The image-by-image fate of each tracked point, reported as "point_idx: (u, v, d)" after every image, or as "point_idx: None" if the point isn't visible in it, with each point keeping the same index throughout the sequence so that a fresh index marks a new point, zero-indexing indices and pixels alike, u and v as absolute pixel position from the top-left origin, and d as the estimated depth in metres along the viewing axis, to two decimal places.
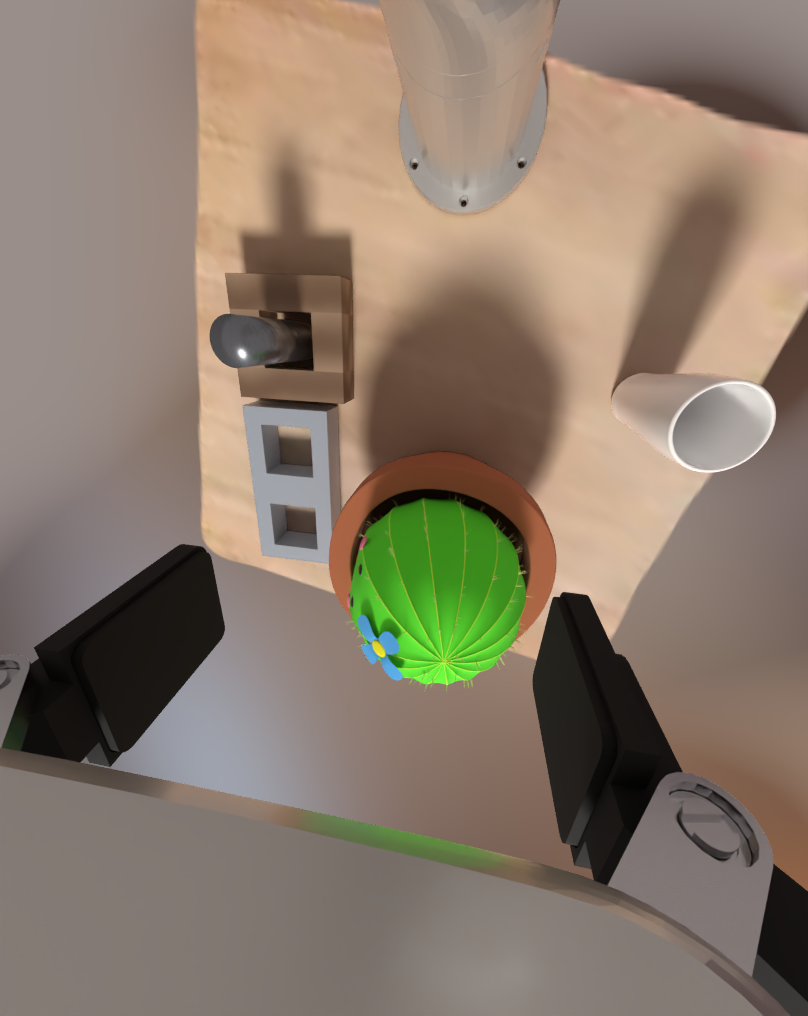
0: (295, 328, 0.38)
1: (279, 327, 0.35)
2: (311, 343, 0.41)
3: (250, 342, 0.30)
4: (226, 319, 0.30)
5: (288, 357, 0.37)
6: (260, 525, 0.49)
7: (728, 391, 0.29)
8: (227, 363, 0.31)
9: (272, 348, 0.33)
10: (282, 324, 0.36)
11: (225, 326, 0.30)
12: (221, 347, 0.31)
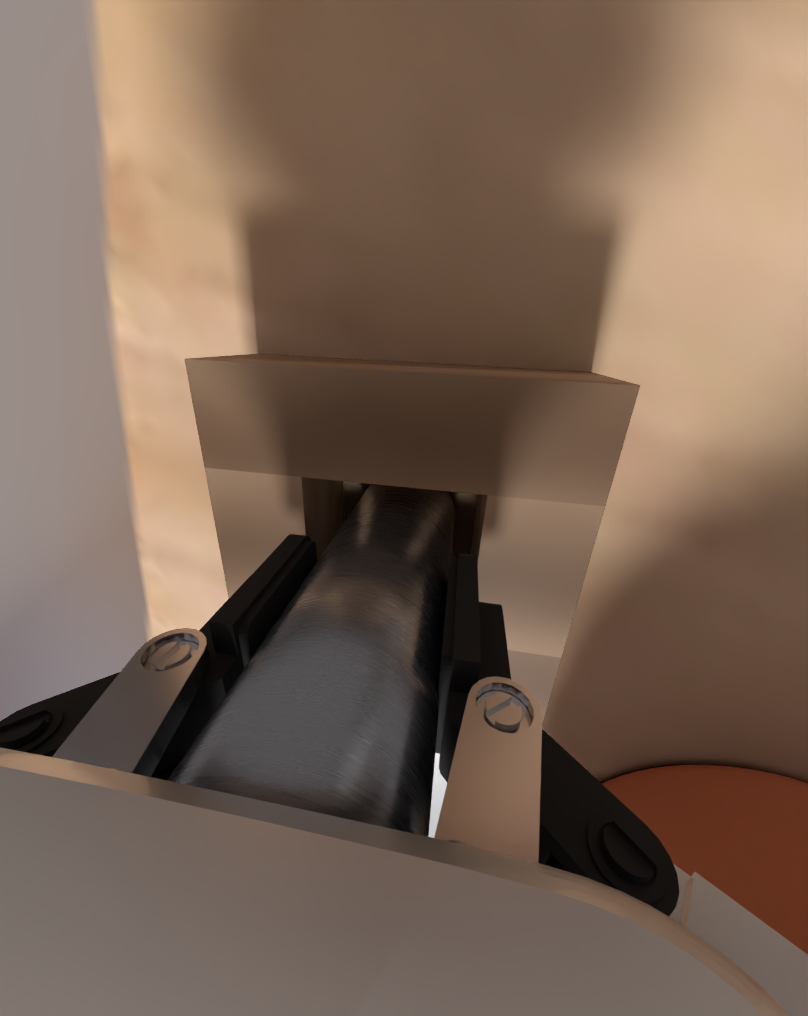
0: (437, 558, 0.11)
1: (423, 652, 0.07)
2: None
3: None
4: None
5: None
6: None
7: None
8: None
9: None
10: (417, 599, 0.08)
11: None
12: None
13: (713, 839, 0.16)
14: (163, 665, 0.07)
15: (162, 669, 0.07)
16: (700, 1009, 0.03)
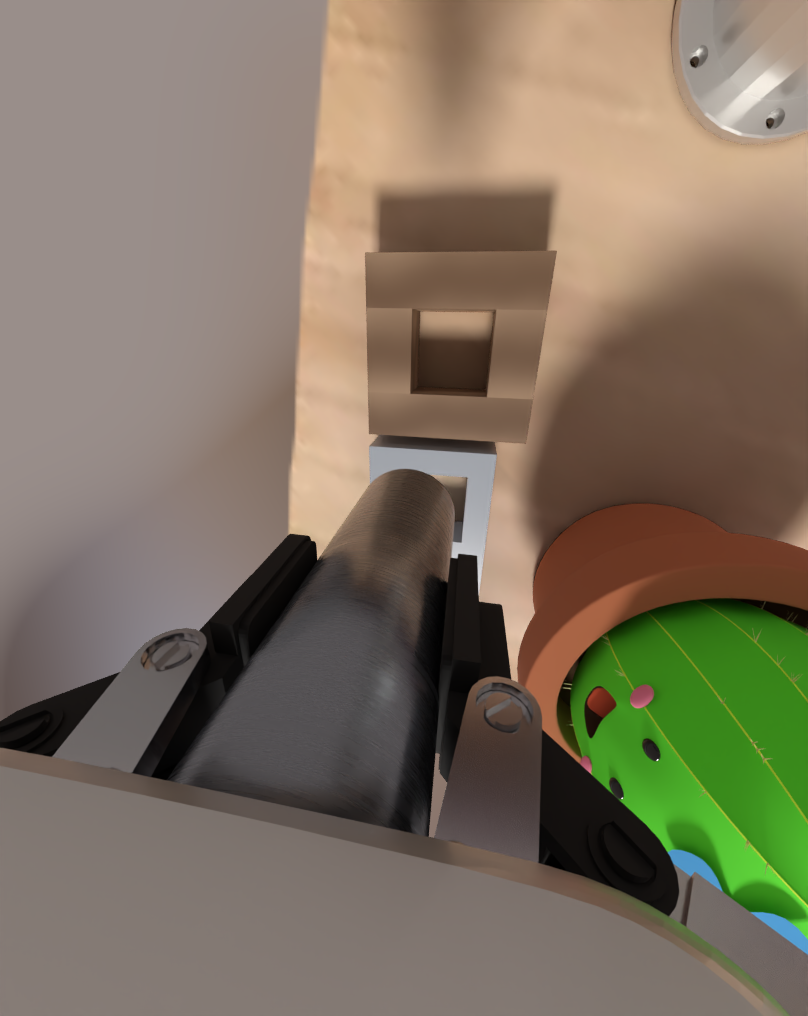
0: (437, 557, 0.11)
1: (423, 652, 0.07)
2: None
3: None
4: None
5: None
6: None
7: None
8: None
9: None
10: (417, 599, 0.08)
11: None
12: None
13: (620, 522, 0.30)
14: (163, 665, 0.07)
15: (162, 669, 0.07)
16: (700, 1009, 0.03)
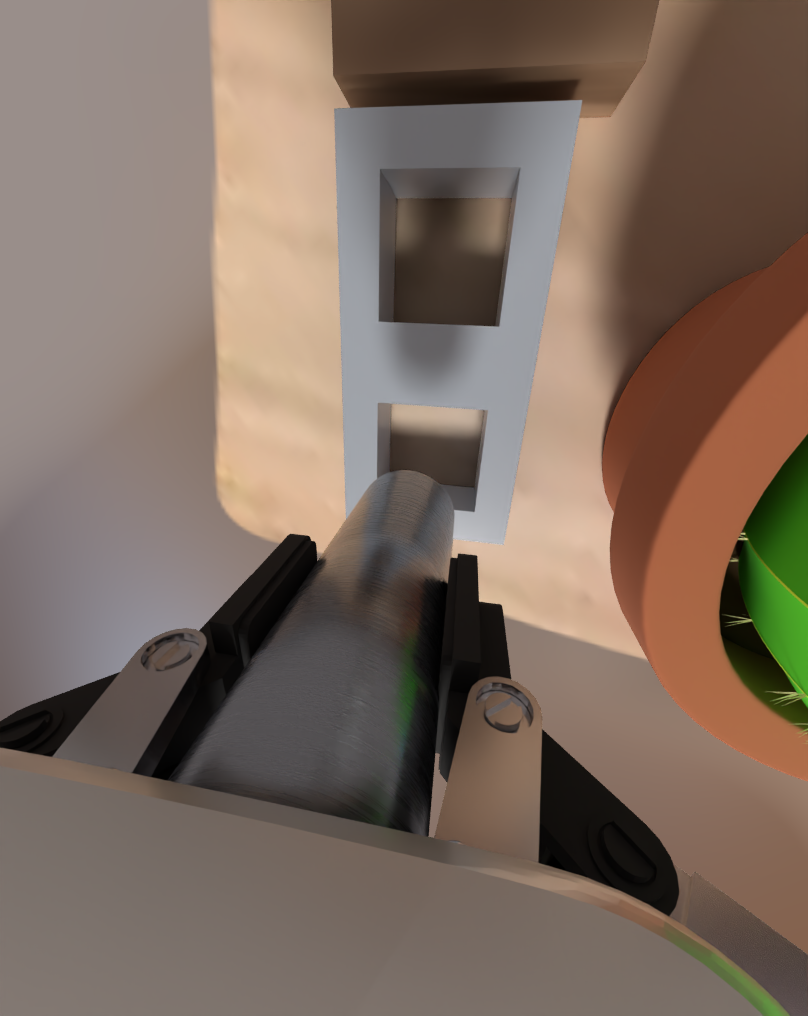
0: (437, 560, 0.11)
1: (422, 655, 0.07)
2: None
3: None
4: None
5: None
6: (349, 458, 0.22)
7: None
8: None
9: None
10: (416, 602, 0.08)
11: None
12: None
13: None
14: (163, 665, 0.07)
15: (162, 669, 0.07)
16: (700, 1009, 0.03)
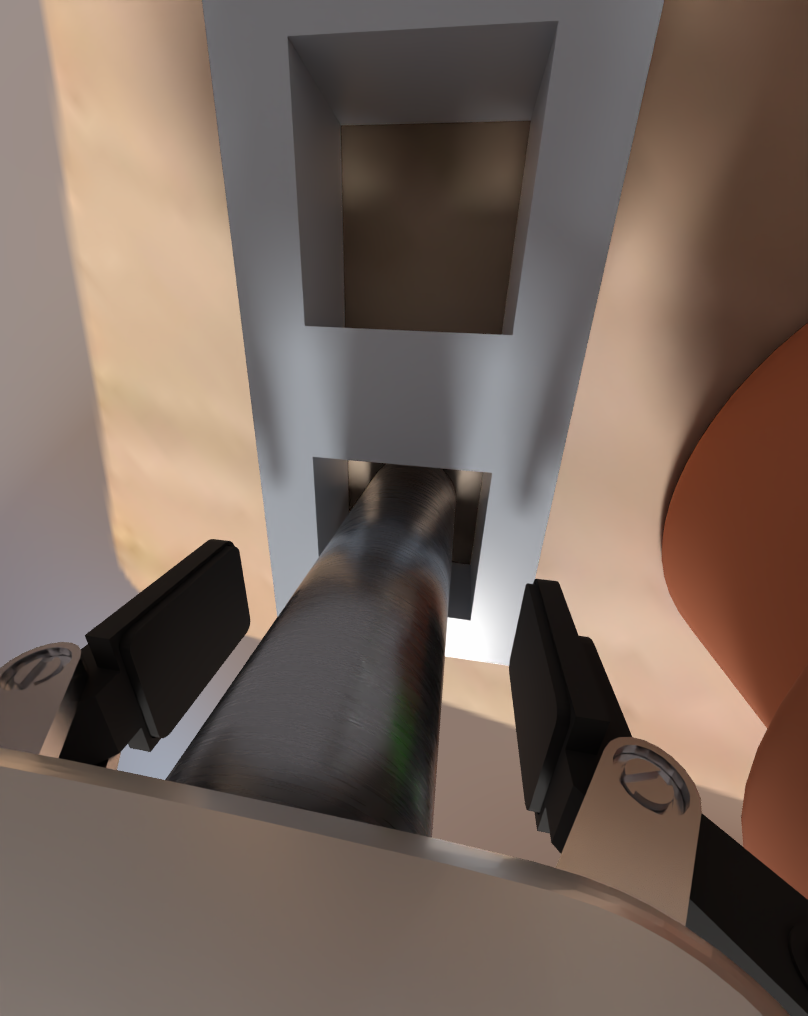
0: (442, 531, 0.12)
1: (432, 600, 0.09)
2: None
3: None
4: None
5: None
6: (275, 538, 0.14)
7: None
8: None
9: None
10: (425, 560, 0.10)
11: None
12: None
13: None
14: (31, 683, 0.06)
15: (31, 687, 0.06)
16: (699, 1008, 0.03)
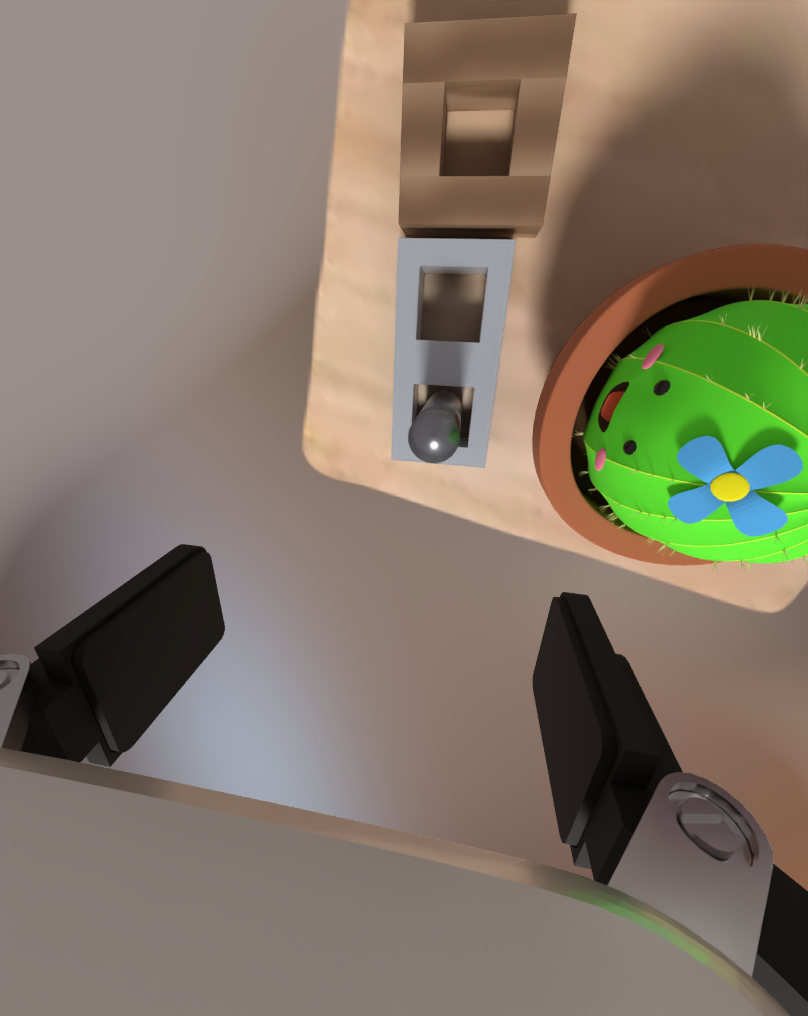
0: (458, 406, 0.37)
1: (457, 412, 0.33)
2: None
3: (453, 439, 0.29)
4: (431, 417, 0.29)
5: None
6: (395, 416, 0.39)
7: None
8: (422, 459, 0.30)
9: None
10: (454, 406, 0.34)
11: (428, 423, 0.29)
12: (419, 443, 0.30)
13: None
14: None
15: None
16: (700, 1009, 0.03)
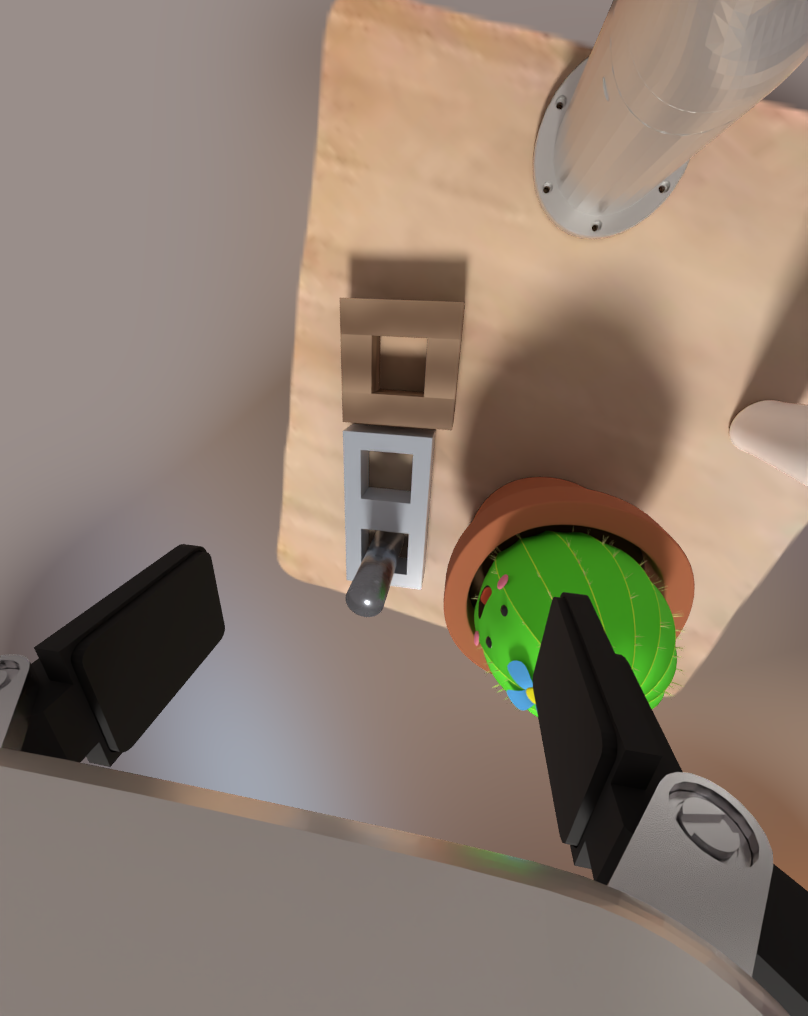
0: (395, 549, 0.46)
1: (389, 564, 0.43)
2: None
3: (379, 603, 0.38)
4: (361, 588, 0.38)
5: None
6: (348, 550, 0.48)
7: None
8: (357, 613, 0.39)
9: None
10: (389, 556, 0.44)
11: (360, 591, 0.38)
12: (354, 603, 0.39)
13: (520, 488, 0.42)
14: None
15: None
16: (700, 1009, 0.03)
